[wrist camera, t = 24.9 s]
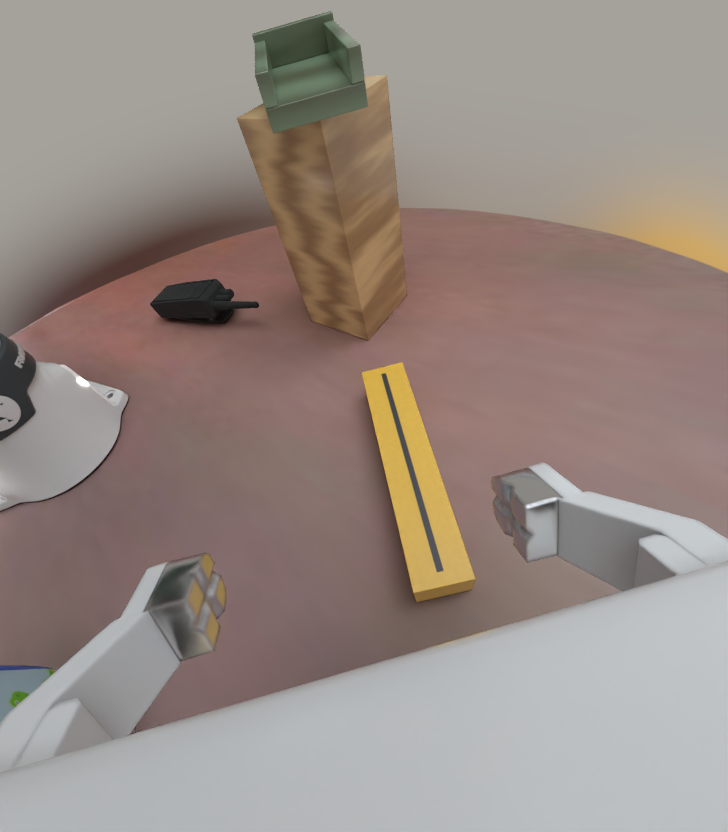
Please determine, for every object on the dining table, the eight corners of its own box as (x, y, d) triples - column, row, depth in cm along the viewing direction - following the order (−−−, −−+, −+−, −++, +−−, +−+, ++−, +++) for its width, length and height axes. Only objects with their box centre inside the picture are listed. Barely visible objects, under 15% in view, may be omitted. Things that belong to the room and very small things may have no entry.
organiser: (421, 328, 47) (404, 20, 25) (316, 356, 47) (207, 77, 25) (394, 267, 56) (364, 1, 34) (306, 291, 56) (219, 43, 34)
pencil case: (472, 589, 28) (475, 578, 25) (416, 602, 29) (413, 593, 25) (405, 385, 42) (402, 361, 38) (367, 395, 42) (361, 371, 38)
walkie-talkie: (178, 284, 60) (276, 280, 52) (180, 323, 61) (277, 324, 53) (143, 277, 54) (246, 271, 46) (146, 320, 55) (248, 320, 47)
